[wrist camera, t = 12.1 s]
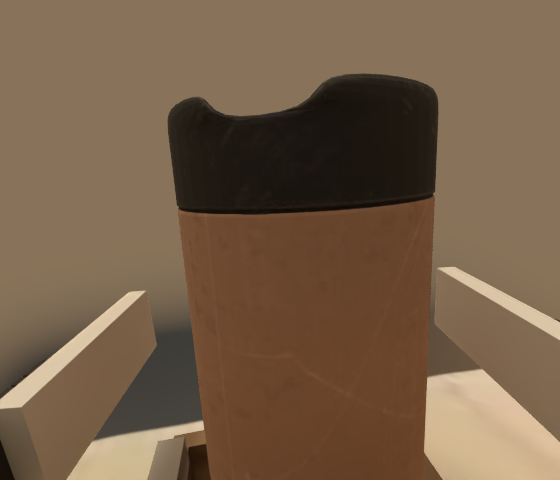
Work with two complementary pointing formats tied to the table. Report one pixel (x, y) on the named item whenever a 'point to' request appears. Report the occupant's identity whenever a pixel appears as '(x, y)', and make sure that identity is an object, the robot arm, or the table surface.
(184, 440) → the tray
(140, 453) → the table surface
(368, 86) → the travel mug
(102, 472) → the table surface
